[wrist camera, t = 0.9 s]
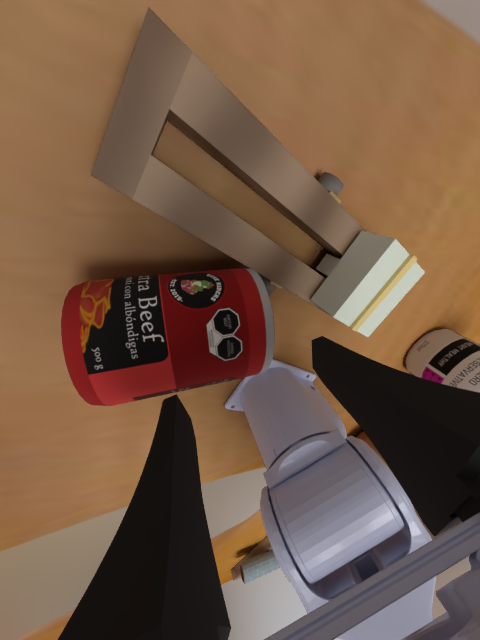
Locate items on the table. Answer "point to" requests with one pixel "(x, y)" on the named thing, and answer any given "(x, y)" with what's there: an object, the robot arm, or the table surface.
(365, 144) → the table surface
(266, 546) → the foil cradle
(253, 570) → the aluminum foil
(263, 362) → the canned food
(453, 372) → the supplement can
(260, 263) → the wooden slotted frame
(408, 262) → the rider
